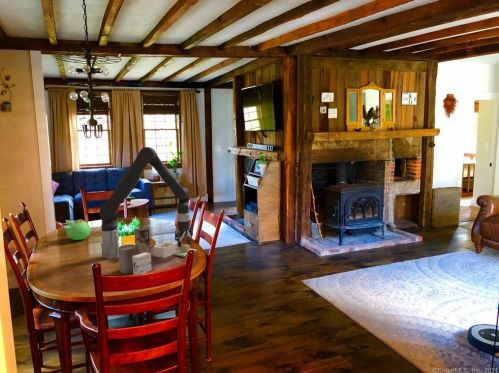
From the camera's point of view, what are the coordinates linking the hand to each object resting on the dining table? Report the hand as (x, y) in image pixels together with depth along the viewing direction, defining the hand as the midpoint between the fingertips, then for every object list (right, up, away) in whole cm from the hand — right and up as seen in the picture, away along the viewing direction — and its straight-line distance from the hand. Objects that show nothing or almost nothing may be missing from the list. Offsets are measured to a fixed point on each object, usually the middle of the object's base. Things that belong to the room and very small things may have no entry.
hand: (184, 245), depth 247 cm
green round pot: (-83, -2, +39) cm, 92 cm away
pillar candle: (-26, -10, -27) cm, 39 cm away
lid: (0, -5, +1) cm, 5 cm away
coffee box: (-26, -6, +2) cm, 27 cm away
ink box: (-16, -11, -35) cm, 41 cm away
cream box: (-12, -6, 0) cm, 13 cm away
